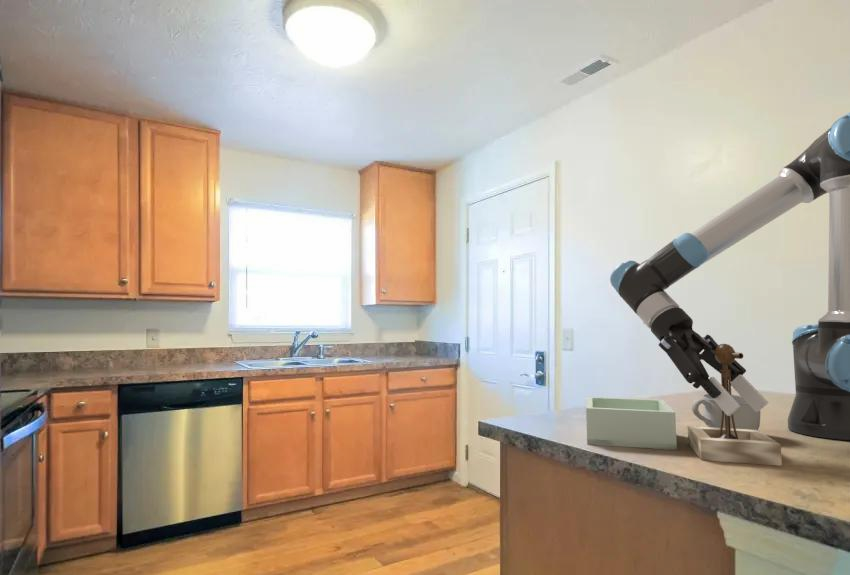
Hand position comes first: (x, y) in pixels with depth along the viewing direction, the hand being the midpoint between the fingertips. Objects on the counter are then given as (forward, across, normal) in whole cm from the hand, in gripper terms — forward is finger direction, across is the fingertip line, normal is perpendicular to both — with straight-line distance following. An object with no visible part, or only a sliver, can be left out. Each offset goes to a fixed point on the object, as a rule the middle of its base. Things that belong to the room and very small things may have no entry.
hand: (748, 409), depth 89 cm
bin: (-9, +6, -21) cm, 24 cm away
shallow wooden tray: (+4, 0, -8) cm, 9 cm away
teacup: (-4, -15, -16) cm, 22 cm away
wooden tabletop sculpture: (+4, 0, -9) cm, 9 cm away
